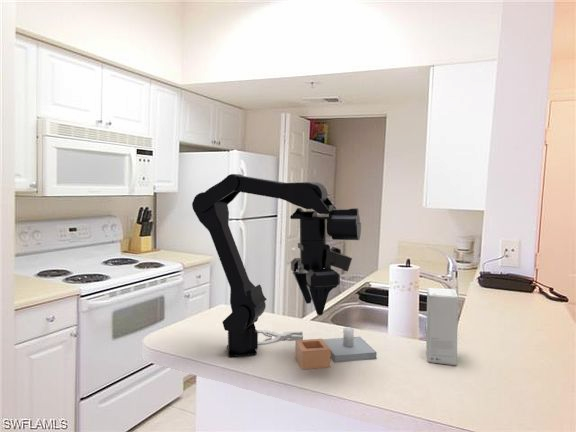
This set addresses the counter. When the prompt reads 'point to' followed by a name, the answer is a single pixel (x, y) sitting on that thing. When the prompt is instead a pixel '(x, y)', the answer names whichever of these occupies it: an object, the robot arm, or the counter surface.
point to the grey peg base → (350, 347)
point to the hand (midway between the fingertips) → (313, 308)
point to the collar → (312, 353)
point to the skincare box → (442, 326)
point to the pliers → (280, 336)
